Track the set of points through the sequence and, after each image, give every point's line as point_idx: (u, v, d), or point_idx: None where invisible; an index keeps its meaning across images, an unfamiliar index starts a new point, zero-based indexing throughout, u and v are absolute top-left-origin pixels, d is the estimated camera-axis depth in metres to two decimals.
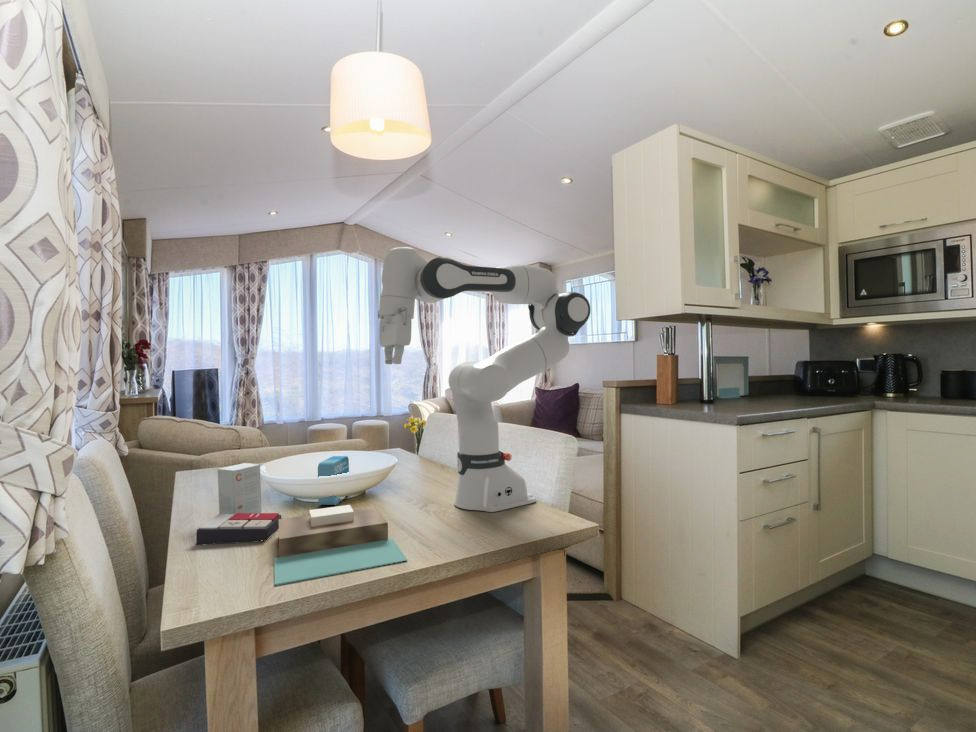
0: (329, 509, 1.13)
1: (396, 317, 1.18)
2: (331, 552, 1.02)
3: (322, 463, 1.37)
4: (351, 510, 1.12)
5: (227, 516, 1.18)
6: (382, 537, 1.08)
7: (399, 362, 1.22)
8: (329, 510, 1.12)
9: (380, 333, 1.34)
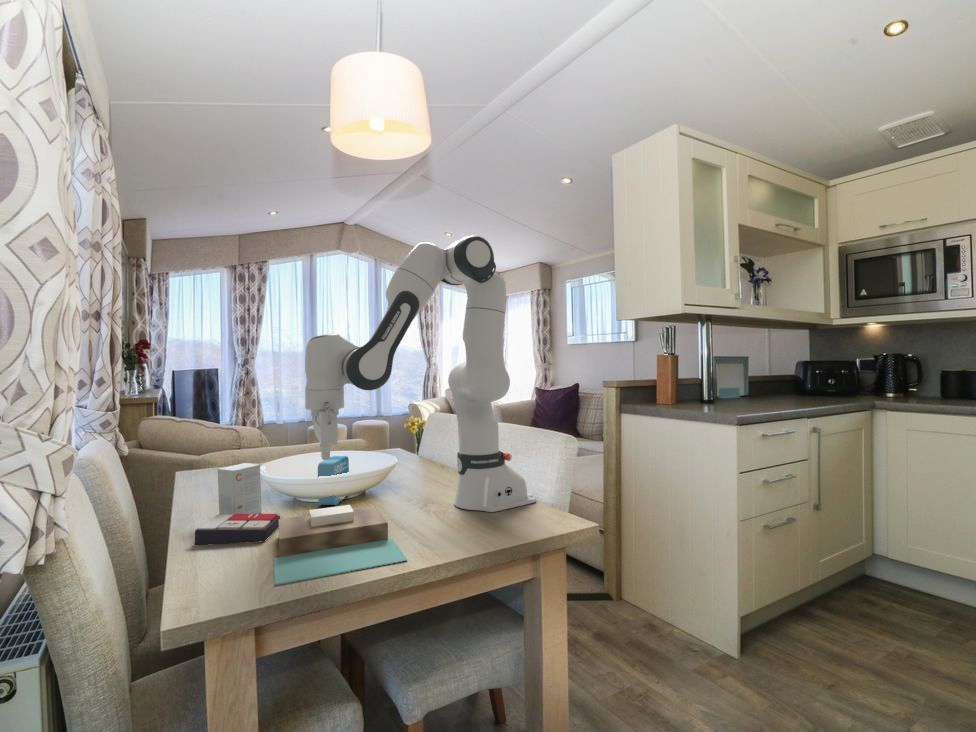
0: (329, 509, 1.13)
1: (320, 416, 1.11)
2: (331, 552, 1.02)
3: (322, 463, 1.37)
4: (351, 510, 1.12)
5: (226, 516, 1.17)
6: (382, 537, 1.08)
7: (328, 457, 1.18)
8: (329, 510, 1.12)
9: (313, 421, 1.26)
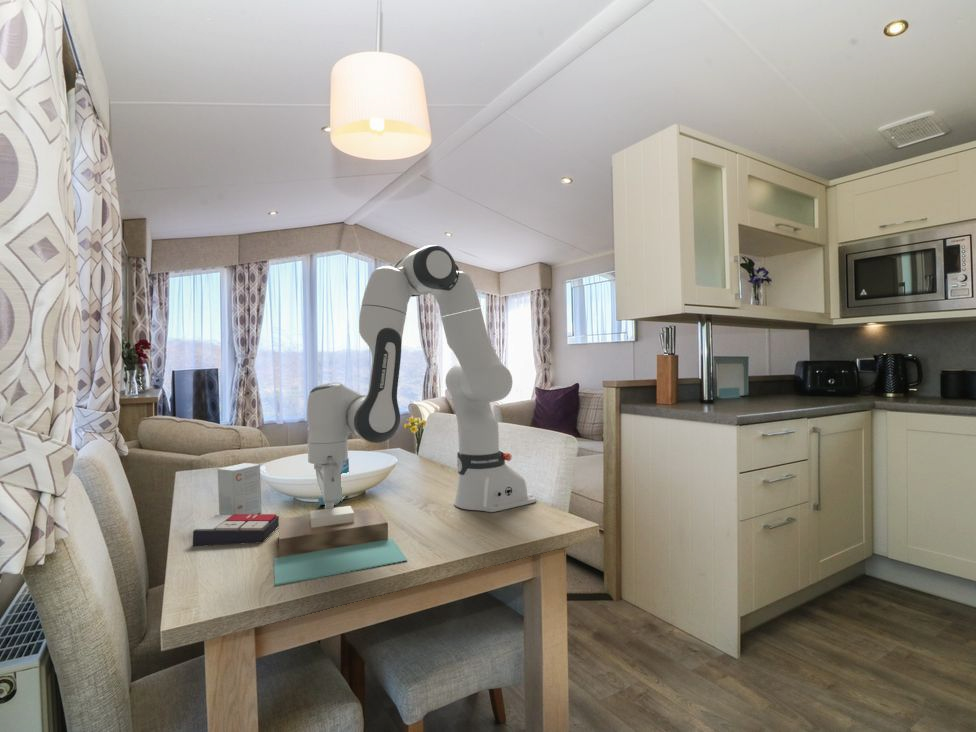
0: (330, 510, 1.12)
1: (323, 472, 1.07)
2: (331, 552, 1.02)
3: None
4: (351, 511, 1.11)
5: (224, 517, 1.17)
6: (382, 537, 1.08)
7: None
8: (329, 511, 1.11)
9: (316, 471, 1.22)
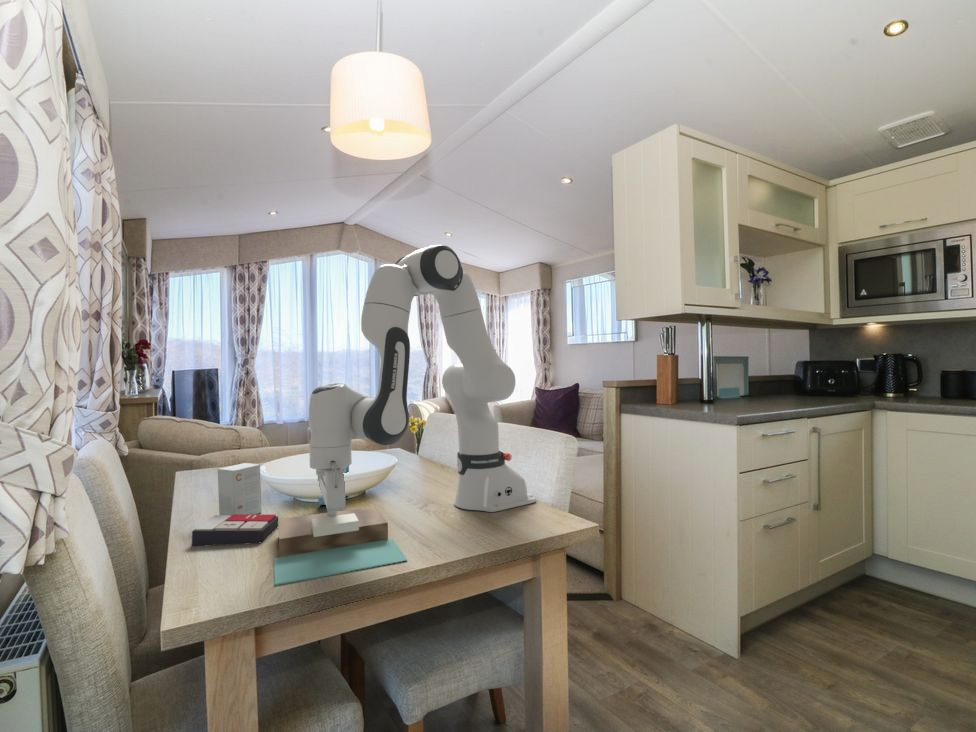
0: (333, 518, 1.06)
1: (326, 478, 1.01)
2: (331, 552, 1.02)
3: None
4: (356, 519, 1.05)
5: (224, 517, 1.17)
6: (382, 537, 1.08)
7: None
8: (332, 519, 1.05)
9: (318, 476, 1.16)
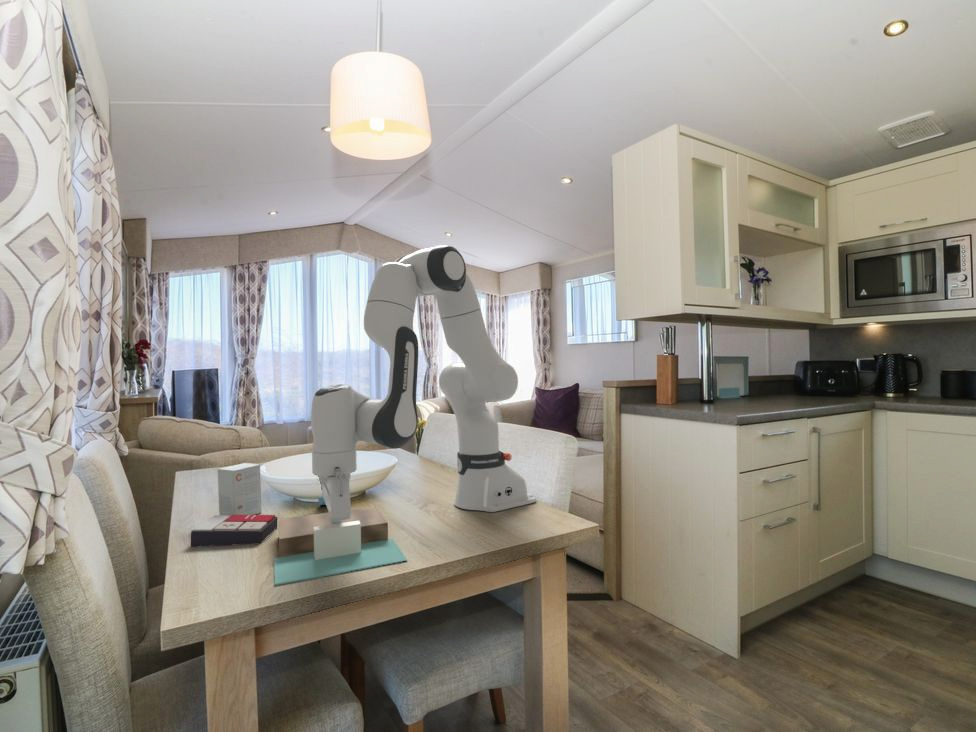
0: (337, 535, 0.99)
1: (330, 486, 0.94)
2: None
3: None
4: (359, 547, 1.01)
5: (223, 518, 1.16)
6: (382, 537, 1.08)
7: None
8: (335, 539, 0.99)
9: (321, 482, 1.10)
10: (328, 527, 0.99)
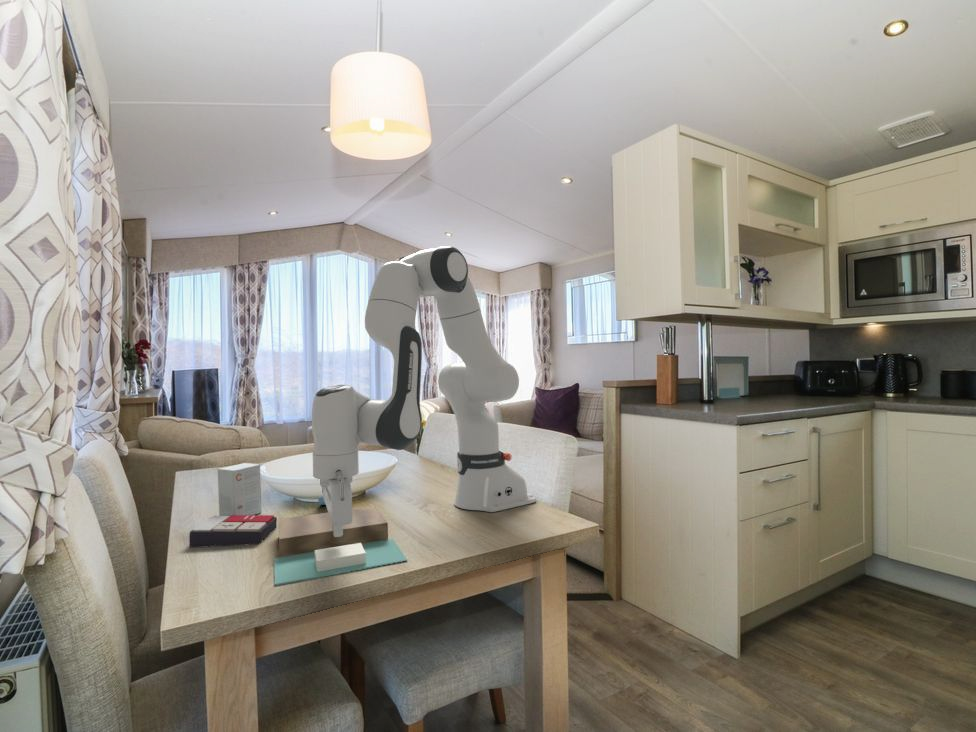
0: None
1: (331, 490, 0.91)
2: None
3: None
4: None
5: (222, 518, 1.16)
6: (382, 537, 1.08)
7: (340, 534, 0.98)
8: None
9: (322, 485, 1.07)
10: (332, 565, 0.94)
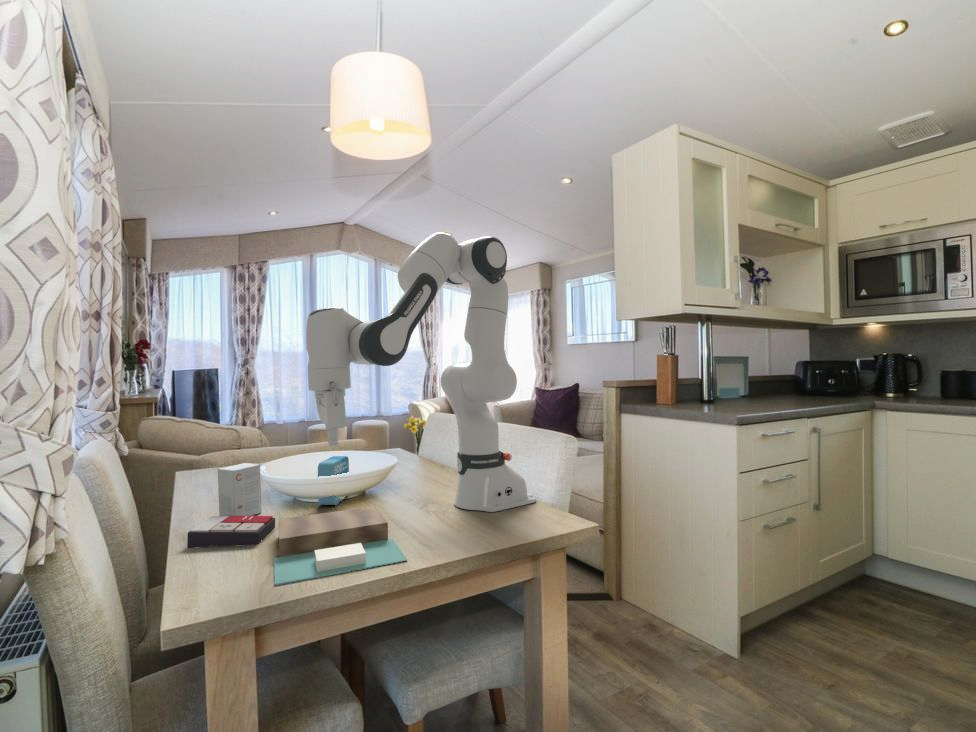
0: None
1: (325, 397, 1.00)
2: None
3: (322, 463, 1.37)
4: None
5: (220, 518, 1.16)
6: (382, 537, 1.08)
7: (335, 443, 1.07)
8: None
9: (317, 404, 1.15)
10: (332, 565, 0.94)
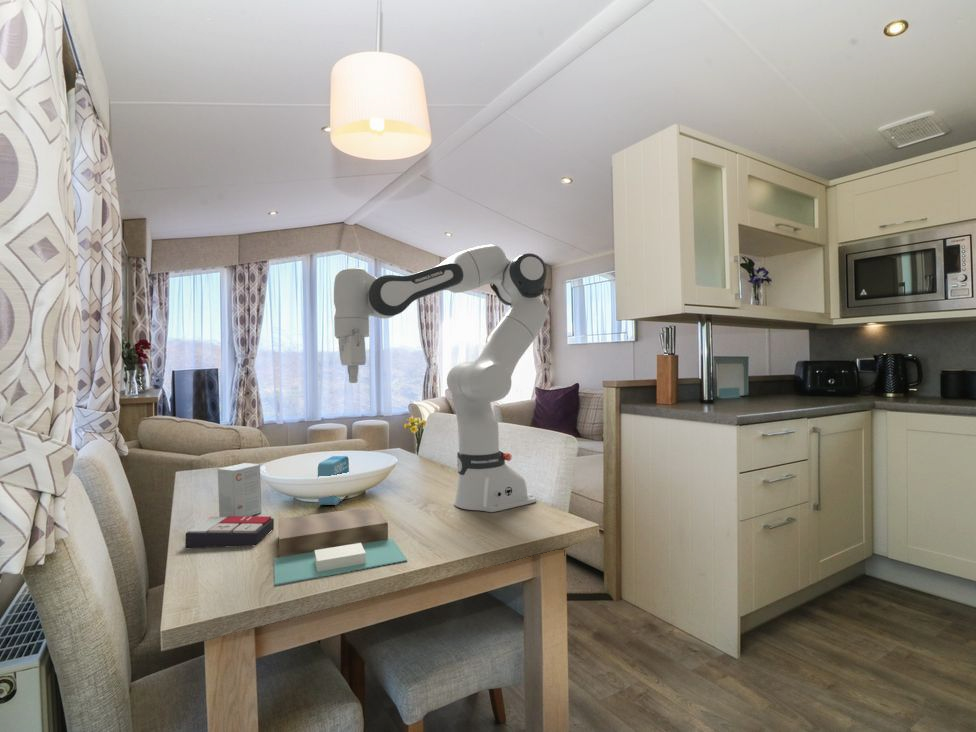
0: None
1: (349, 339, 1.22)
2: None
3: (322, 463, 1.37)
4: None
5: (219, 519, 1.15)
6: (382, 537, 1.08)
7: (355, 381, 1.29)
8: None
9: (340, 352, 1.37)
10: (332, 565, 0.94)
